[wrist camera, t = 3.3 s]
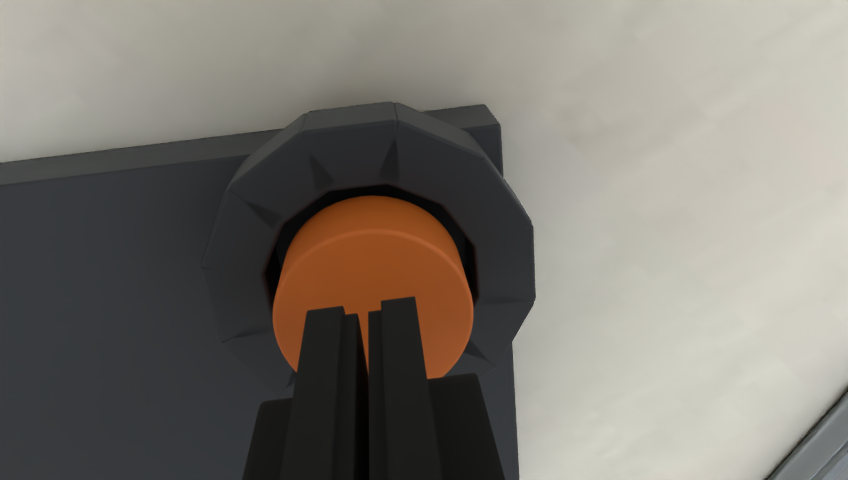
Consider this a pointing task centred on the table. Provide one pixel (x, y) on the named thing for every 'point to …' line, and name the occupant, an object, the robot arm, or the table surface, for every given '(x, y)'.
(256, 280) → the dark grey flat block
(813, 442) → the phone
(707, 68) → the table surface
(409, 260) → the button
